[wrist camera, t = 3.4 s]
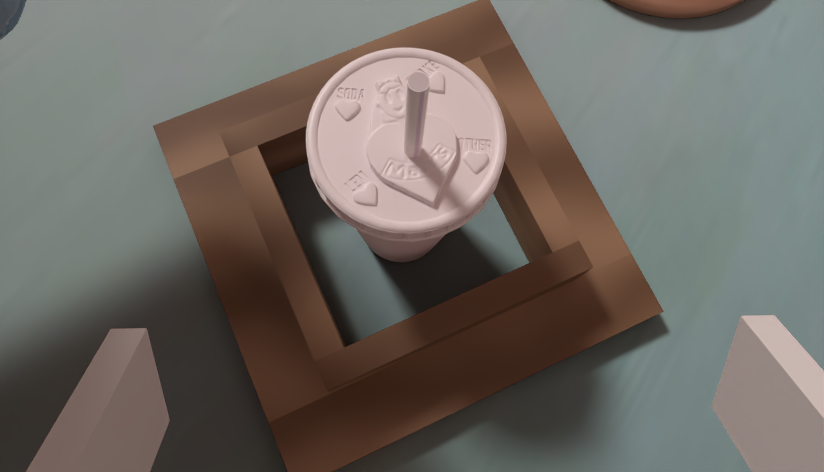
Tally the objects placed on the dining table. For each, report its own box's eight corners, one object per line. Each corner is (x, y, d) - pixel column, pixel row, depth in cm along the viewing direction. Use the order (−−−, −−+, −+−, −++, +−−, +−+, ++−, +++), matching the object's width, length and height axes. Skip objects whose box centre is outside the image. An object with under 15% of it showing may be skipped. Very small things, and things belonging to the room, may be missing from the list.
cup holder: (160, 135, 30) (131, 100, 27) (484, 8, 32) (495, -38, 29) (298, 486, 26) (284, 498, 23) (654, 314, 28) (690, 302, 25)
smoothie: (355, 311, 28) (324, 220, 15) (313, 180, 30) (249, -12, 16) (491, 265, 29) (581, 139, 15) (443, 140, 30) (486, -76, 17)
